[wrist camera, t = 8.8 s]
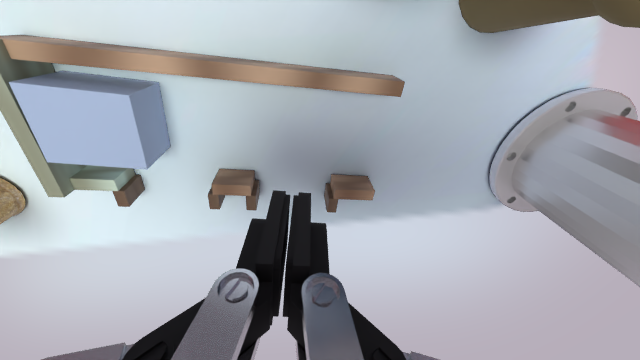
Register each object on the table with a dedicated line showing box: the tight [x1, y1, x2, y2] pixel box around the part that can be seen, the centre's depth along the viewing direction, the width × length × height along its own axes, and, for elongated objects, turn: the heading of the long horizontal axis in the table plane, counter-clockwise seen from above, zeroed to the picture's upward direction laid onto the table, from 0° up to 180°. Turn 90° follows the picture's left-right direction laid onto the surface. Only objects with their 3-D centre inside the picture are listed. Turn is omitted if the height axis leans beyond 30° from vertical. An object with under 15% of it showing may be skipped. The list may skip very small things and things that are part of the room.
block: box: [9, 71, 170, 169], centre depth 17 cm, size 6×5×4 cm
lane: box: [0, 35, 405, 212], centre depth 19 cm, size 24×12×4 cm, turn 84°
